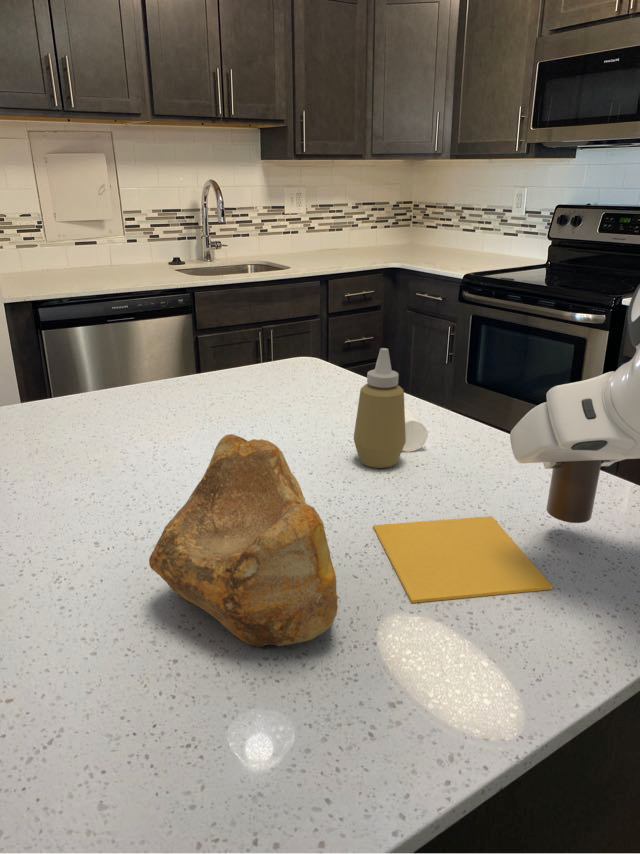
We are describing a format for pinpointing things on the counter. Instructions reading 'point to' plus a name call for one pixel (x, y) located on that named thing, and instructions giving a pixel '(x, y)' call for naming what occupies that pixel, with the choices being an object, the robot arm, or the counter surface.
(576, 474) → the pepper mill
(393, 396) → the squeeze bottle
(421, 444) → the roll
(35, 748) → the counter surface
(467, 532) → the yellow square plate
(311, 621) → the rough brown rock
